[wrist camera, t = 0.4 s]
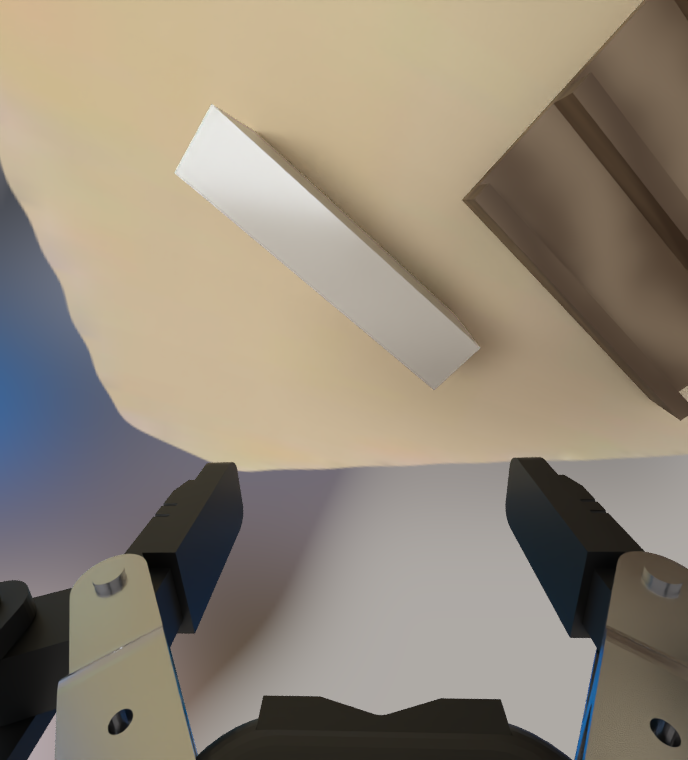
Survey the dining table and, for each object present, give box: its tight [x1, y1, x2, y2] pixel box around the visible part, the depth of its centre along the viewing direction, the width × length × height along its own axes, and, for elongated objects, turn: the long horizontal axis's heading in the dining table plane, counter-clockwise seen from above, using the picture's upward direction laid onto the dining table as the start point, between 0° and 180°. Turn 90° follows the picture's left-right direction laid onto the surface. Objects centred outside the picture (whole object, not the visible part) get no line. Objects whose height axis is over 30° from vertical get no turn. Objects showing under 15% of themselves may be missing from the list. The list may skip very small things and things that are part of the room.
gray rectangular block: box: [175, 104, 480, 390], centre depth 26 cm, size 4×20×8 cm, turn 50°
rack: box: [463, 0, 688, 421], centre depth 25 cm, size 16×24×4 cm, turn 49°
